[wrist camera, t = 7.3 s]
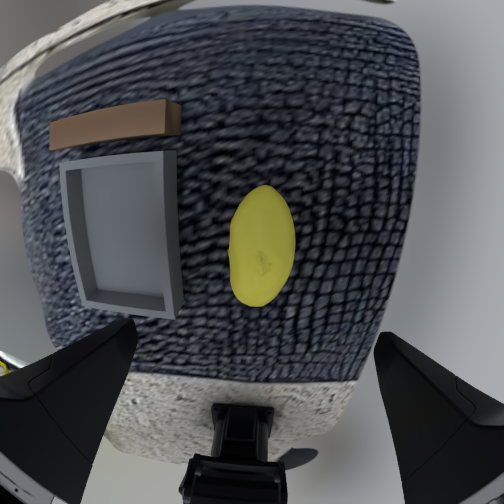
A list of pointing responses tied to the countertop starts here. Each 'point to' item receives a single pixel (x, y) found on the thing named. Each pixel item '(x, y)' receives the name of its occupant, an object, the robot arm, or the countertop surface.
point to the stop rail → (117, 124)
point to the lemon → (261, 246)
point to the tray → (125, 232)
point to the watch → (5, 368)
